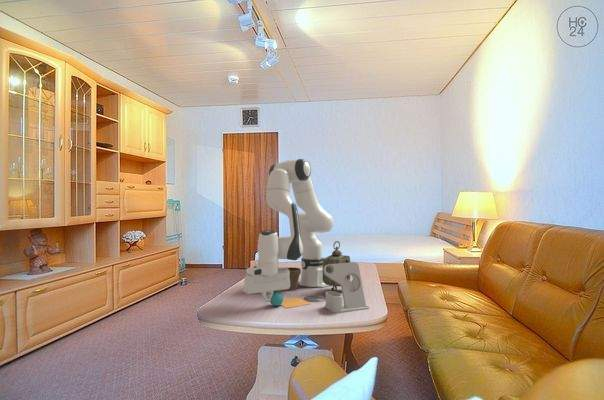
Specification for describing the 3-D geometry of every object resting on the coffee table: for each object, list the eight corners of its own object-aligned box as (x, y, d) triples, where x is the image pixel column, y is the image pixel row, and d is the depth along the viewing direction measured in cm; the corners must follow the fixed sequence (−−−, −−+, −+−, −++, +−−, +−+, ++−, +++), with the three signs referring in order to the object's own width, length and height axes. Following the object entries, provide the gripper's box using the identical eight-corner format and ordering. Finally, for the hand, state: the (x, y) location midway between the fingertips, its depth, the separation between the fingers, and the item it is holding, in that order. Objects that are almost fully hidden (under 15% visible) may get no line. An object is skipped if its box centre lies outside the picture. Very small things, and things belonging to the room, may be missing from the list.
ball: (272, 306, 144) (281, 295, 147) (279, 310, 139) (288, 298, 142) (264, 298, 142) (273, 287, 144) (271, 302, 137) (280, 290, 139)
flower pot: (276, 286, 174) (276, 267, 175) (297, 285, 178) (297, 266, 178) (282, 292, 163) (281, 271, 164) (303, 290, 167) (303, 270, 167)
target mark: (297, 297, 154) (297, 296, 154) (310, 303, 144) (310, 303, 144) (273, 301, 148) (273, 300, 148) (286, 308, 138) (286, 308, 138)
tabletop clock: (338, 296, 156) (338, 242, 157) (321, 293, 161) (321, 241, 161) (350, 289, 169) (350, 240, 169) (334, 287, 173) (334, 239, 174)
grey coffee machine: (333, 313, 131) (333, 268, 132) (323, 306, 141) (322, 263, 141) (371, 308, 137) (370, 265, 138) (358, 302, 147) (358, 261, 147)
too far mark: (317, 294, 159) (317, 294, 159) (330, 299, 151) (330, 299, 151) (300, 297, 154) (300, 297, 154) (311, 303, 145) (311, 302, 145)
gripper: (286, 265, 148) (285, 297, 148) (242, 269, 138) (242, 303, 137) (292, 268, 143) (292, 300, 142) (248, 271, 133) (247, 306, 132)
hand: (267, 301), depth 140 cm, fingers closed
